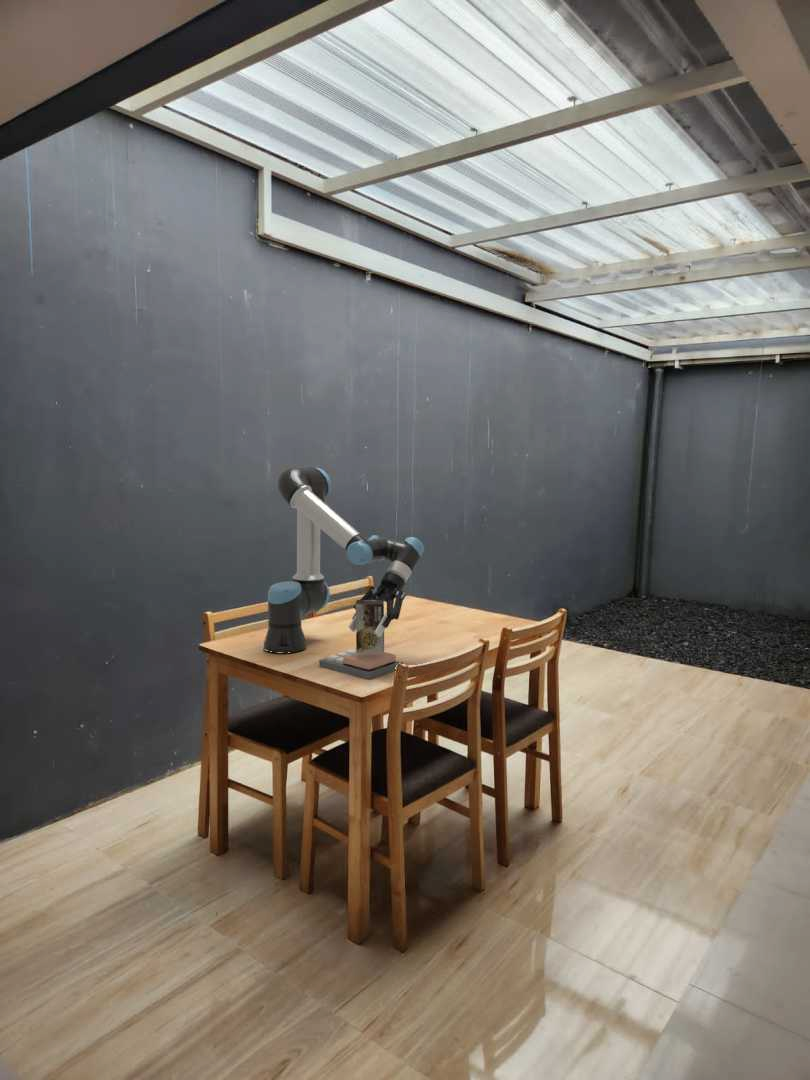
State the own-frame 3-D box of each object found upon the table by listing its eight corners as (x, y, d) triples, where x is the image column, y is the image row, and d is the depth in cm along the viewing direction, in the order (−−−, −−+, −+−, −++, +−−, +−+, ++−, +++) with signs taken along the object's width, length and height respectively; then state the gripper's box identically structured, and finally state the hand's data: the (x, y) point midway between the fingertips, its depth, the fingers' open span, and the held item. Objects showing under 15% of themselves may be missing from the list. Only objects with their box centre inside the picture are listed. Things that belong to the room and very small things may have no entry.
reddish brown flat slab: (343, 663, 222) (343, 657, 222) (370, 654, 232) (370, 648, 232) (368, 669, 215) (368, 663, 215) (395, 660, 225) (395, 654, 225)
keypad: (319, 666, 227) (319, 657, 227) (353, 655, 239) (353, 647, 239) (369, 679, 213) (369, 670, 213) (402, 668, 226) (402, 659, 225)
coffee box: (384, 647, 226) (384, 599, 225) (384, 653, 220) (384, 603, 218) (356, 647, 226) (356, 599, 224) (355, 653, 220) (355, 603, 218)
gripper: (428, 588, 226) (397, 644, 215) (375, 580, 240) (343, 632, 230) (418, 574, 221) (386, 631, 211) (364, 567, 235) (332, 620, 225)
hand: (364, 632), depth 220 cm, fingers closed on coffee box, 10 cm apart
